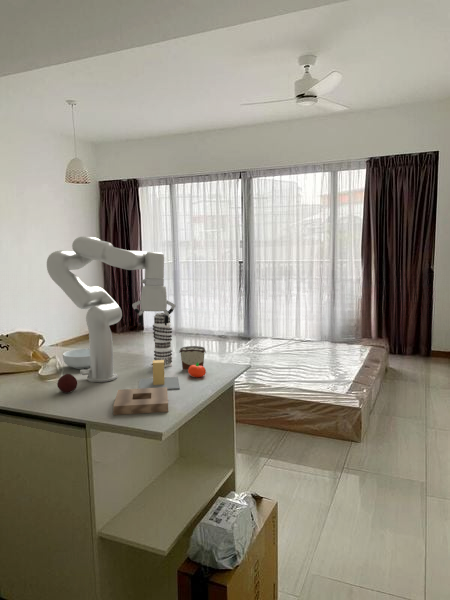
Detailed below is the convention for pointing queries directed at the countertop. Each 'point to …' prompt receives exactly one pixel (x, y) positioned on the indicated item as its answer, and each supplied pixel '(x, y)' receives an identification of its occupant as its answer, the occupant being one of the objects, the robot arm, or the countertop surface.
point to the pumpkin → (196, 370)
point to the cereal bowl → (77, 358)
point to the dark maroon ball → (67, 383)
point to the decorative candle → (162, 339)
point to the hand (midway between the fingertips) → (153, 324)
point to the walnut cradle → (141, 401)
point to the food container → (192, 356)
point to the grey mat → (170, 383)
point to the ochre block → (158, 372)
